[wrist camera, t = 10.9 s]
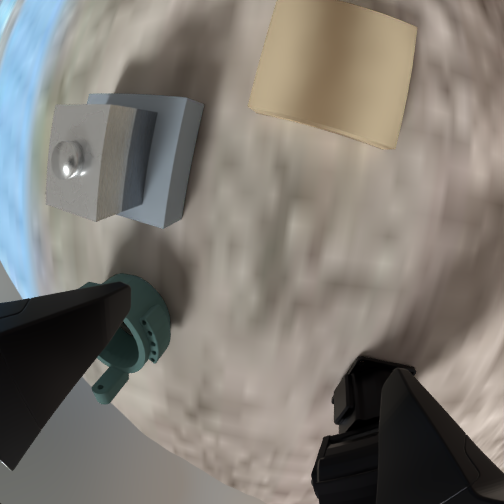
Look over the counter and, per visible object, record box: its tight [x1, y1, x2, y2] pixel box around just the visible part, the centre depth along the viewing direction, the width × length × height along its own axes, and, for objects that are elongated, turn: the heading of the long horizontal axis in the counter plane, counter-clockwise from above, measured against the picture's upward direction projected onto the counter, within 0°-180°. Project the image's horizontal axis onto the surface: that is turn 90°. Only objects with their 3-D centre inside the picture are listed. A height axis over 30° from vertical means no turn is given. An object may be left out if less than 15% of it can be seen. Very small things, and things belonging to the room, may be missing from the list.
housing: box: [46, 104, 158, 222], centre depth 15 cm, size 5×6×6 cm
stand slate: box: [87, 94, 204, 229], centre depth 19 cm, size 9×9×3 cm
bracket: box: [79, 273, 171, 404], centre depth 22 cm, size 9×9×9 cm
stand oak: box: [248, 0, 417, 150], centre depth 14 cm, size 9×9×3 cm
